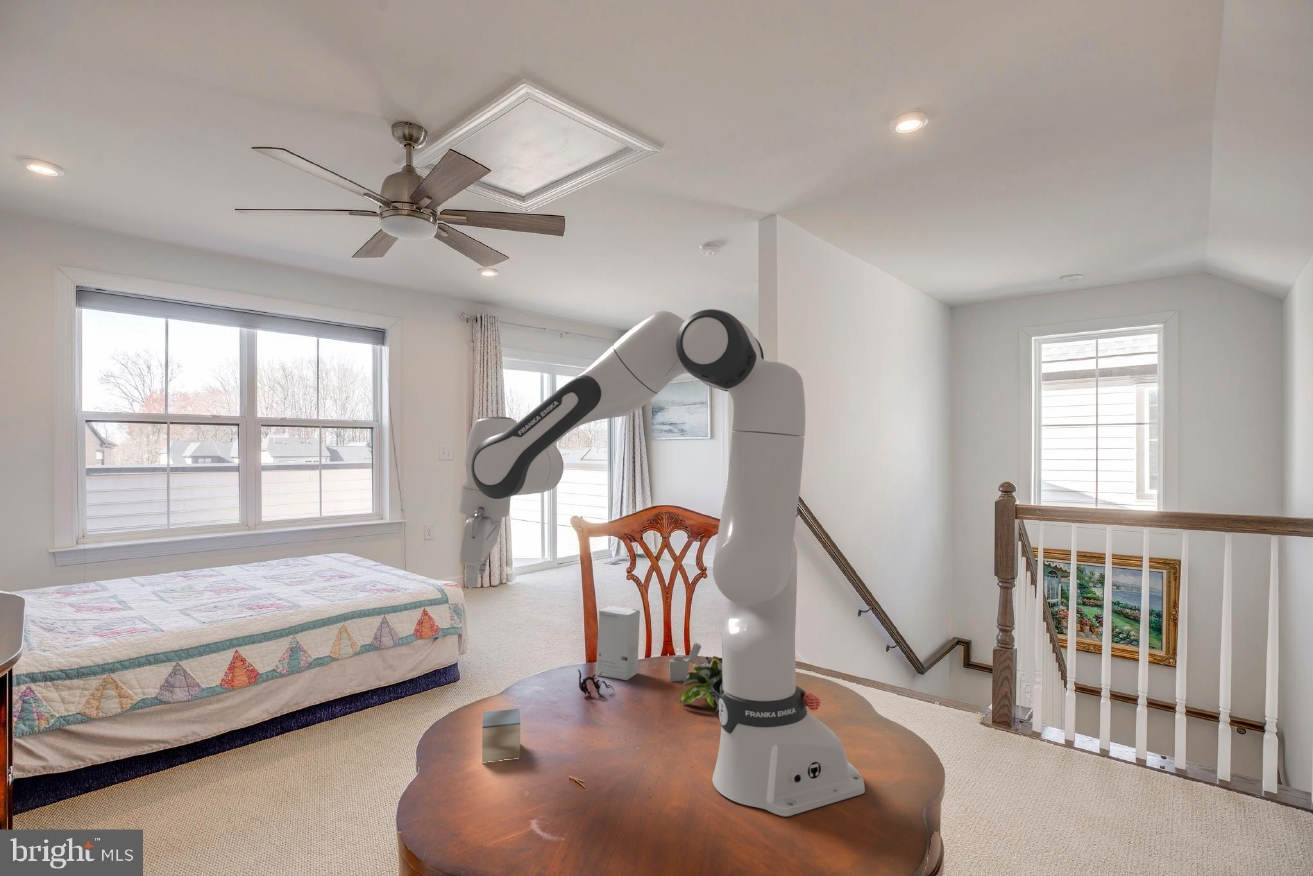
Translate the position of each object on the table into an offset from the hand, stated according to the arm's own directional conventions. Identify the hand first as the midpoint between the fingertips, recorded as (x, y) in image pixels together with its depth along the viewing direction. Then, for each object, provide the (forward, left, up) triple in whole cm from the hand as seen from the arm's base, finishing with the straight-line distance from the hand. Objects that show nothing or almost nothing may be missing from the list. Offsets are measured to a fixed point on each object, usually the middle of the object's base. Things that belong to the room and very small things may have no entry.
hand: (476, 579), depth 113 cm
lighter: (-45, -17, -28) cm, 55 cm away
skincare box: (-31, -24, -28) cm, 47 cm away
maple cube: (-5, +9, -28) cm, 29 cm away
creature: (-24, -13, -28) cm, 39 cm away
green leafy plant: (-46, -1, -28) cm, 53 cm away
